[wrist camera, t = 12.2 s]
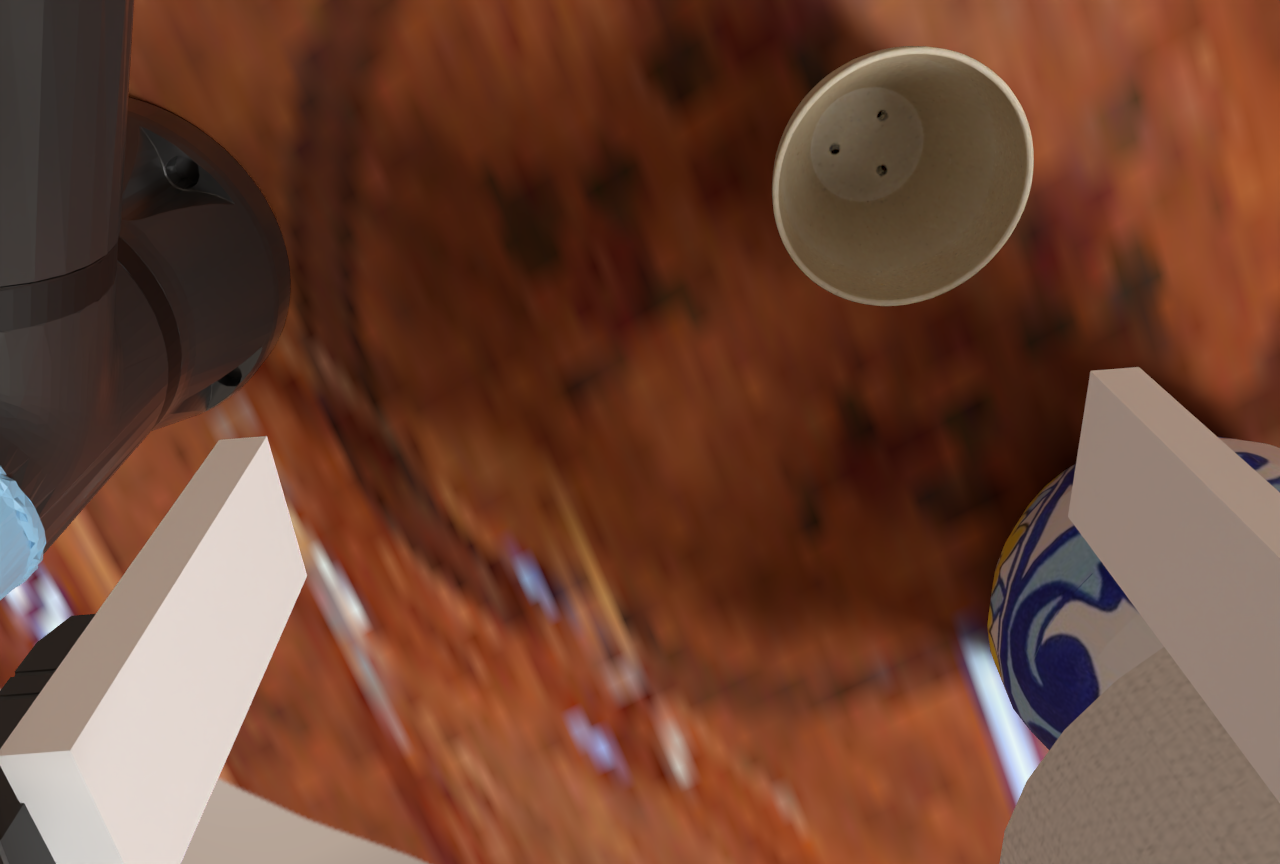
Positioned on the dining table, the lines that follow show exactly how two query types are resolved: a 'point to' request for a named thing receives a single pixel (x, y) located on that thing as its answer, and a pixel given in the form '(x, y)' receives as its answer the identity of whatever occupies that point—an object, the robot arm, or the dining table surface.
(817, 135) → the flower pot
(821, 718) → the dining table surface
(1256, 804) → the table lamp
